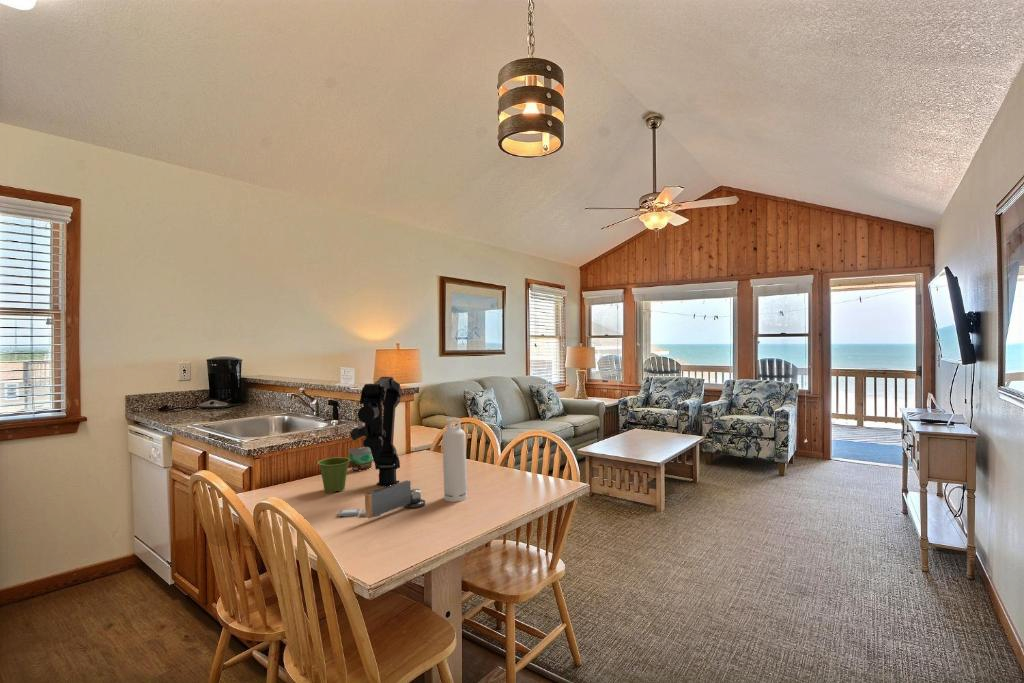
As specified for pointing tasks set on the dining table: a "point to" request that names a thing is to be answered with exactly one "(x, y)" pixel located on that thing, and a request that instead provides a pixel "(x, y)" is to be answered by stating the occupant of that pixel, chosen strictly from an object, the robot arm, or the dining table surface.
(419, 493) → the swing bar
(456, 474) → the bottle
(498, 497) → the dining table surface
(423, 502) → the pivot base
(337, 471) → the plant pot
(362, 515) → the label plaque
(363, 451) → the food container
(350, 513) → the label plaque
